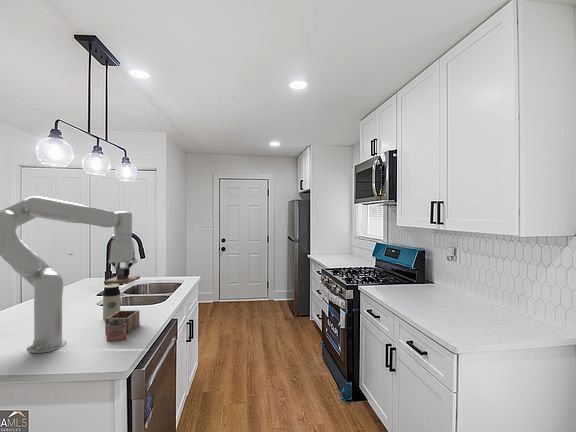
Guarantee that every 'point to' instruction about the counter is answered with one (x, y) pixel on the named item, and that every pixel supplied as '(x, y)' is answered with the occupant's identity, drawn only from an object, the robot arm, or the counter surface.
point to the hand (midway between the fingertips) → (122, 276)
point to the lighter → (116, 330)
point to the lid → (121, 278)
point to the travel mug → (111, 300)
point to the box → (130, 319)
